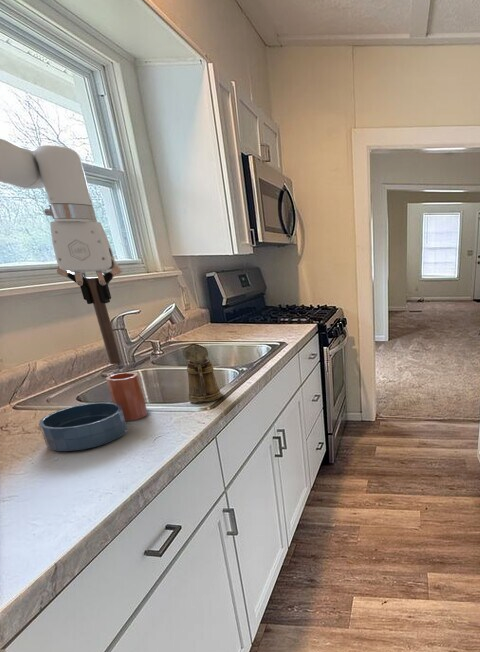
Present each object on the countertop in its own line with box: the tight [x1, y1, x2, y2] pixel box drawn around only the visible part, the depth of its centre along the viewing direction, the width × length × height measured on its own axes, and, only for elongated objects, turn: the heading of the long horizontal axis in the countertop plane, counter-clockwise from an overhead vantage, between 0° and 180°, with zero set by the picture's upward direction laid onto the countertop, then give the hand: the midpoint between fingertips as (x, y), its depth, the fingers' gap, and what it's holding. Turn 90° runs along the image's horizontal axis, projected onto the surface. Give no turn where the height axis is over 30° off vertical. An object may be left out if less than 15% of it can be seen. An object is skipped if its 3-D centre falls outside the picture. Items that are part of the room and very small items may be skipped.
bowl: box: [38, 401, 128, 452], centre depth 92 cm, size 15×15×6 cm
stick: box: [86, 276, 122, 365], centre depth 95 cm, size 2×2×20 cm
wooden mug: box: [182, 343, 222, 404], centre depth 112 cm, size 9×14×18 cm, turn 23°
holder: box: [105, 371, 148, 422], centre depth 103 cm, size 7×7×11 cm
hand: (98, 302), depth 93 cm, fingers closed on stick, 2 cm apart
